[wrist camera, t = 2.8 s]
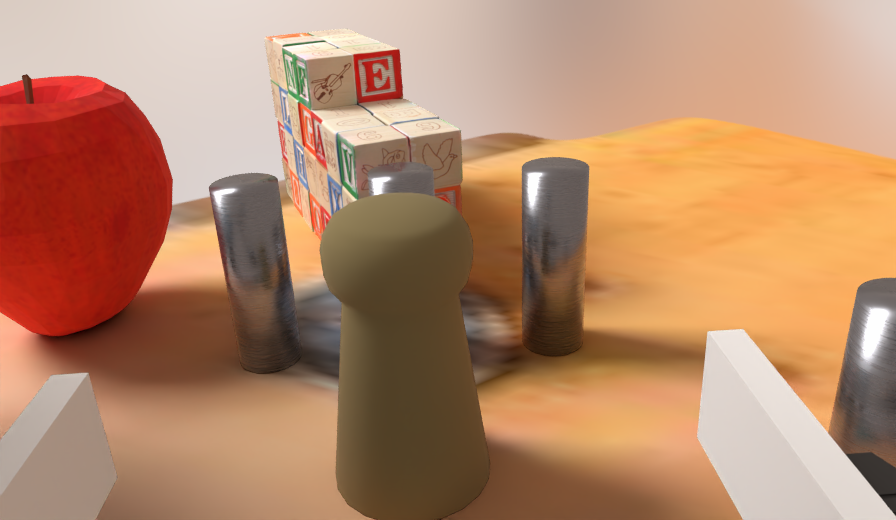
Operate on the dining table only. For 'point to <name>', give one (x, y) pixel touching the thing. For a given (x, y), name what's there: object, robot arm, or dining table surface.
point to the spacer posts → (543, 287)
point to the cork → (404, 358)
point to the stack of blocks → (350, 121)
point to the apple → (76, 202)
